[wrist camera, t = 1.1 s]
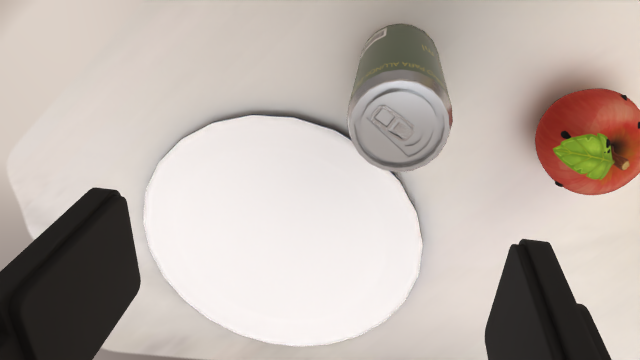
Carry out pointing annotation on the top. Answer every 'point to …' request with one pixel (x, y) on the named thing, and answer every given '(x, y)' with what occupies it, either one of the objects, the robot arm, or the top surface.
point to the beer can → (399, 100)
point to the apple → (590, 141)
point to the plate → (282, 231)
